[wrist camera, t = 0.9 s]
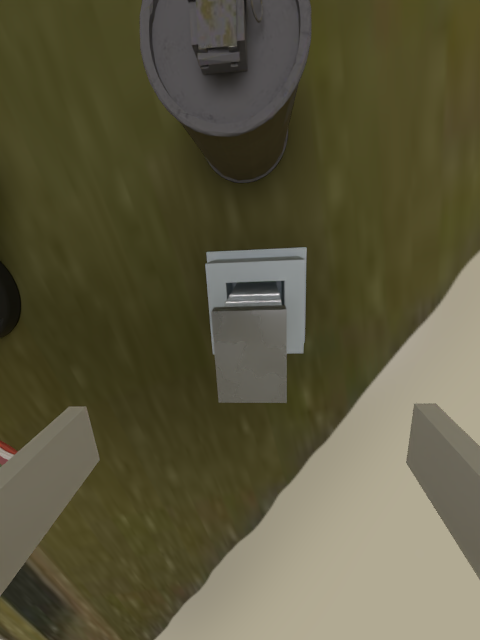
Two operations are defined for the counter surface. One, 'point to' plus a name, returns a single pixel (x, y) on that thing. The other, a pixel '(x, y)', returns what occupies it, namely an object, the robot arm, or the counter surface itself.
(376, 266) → the counter surface
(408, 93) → the counter surface
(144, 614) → the counter surface
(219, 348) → the column
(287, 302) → the stand base
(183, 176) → the counter surface
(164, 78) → the canister
